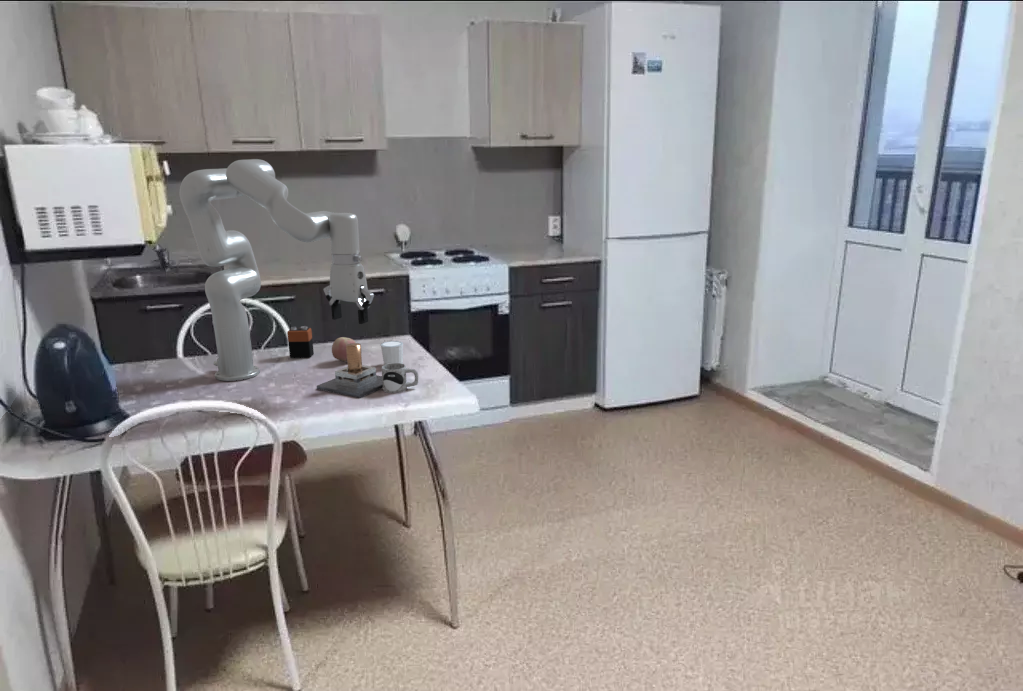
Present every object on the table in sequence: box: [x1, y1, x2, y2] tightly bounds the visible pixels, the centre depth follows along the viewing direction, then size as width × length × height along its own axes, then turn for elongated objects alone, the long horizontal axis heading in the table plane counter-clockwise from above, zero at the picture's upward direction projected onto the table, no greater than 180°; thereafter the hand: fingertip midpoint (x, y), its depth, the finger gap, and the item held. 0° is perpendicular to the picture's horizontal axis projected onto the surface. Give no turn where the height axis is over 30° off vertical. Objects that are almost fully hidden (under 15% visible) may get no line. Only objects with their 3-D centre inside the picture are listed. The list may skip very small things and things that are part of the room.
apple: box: [331, 336, 357, 362], centre depth 223 cm, size 8×8×8 cm
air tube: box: [346, 342, 363, 381], centre depth 200 cm, size 4×4×11 cm
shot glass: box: [380, 340, 404, 365], centre depth 219 cm, size 7×7×7 cm
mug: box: [381, 363, 419, 394], centre depth 197 cm, size 10×7×7 cm
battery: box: [286, 325, 315, 359], centre depth 229 cm, size 4×7×10 cm, turn 89°
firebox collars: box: [316, 364, 383, 399], centre depth 201 cm, size 16×15×5 cm
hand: (350, 320), depth 196 cm, fingers open, 9 cm apart
